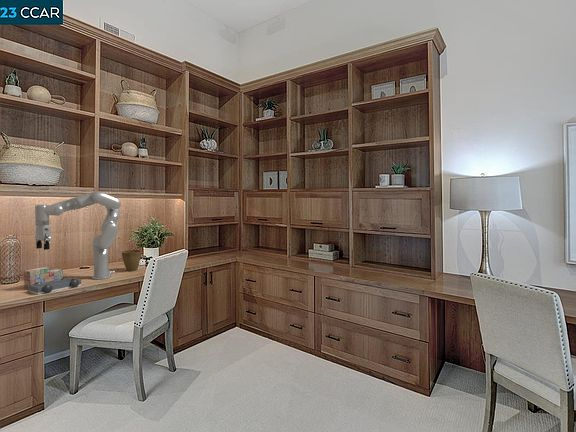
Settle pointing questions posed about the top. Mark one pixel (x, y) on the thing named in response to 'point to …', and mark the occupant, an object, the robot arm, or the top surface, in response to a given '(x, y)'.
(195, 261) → the top surface
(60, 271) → the stack of blocks
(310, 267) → the top surface
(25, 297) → the top surface
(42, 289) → the chassis
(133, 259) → the plant pot
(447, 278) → the top surface
